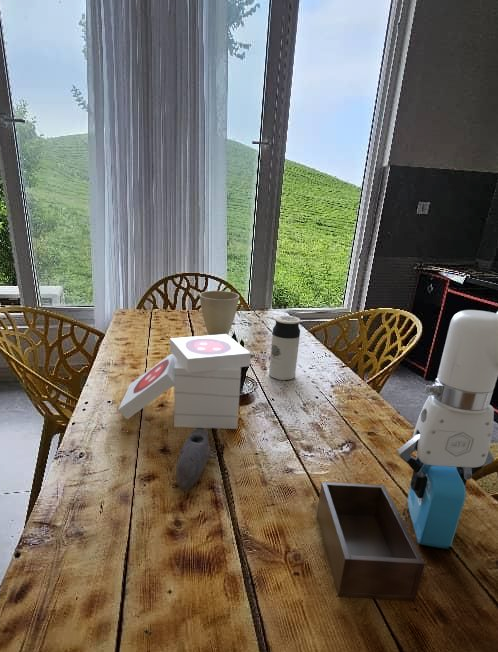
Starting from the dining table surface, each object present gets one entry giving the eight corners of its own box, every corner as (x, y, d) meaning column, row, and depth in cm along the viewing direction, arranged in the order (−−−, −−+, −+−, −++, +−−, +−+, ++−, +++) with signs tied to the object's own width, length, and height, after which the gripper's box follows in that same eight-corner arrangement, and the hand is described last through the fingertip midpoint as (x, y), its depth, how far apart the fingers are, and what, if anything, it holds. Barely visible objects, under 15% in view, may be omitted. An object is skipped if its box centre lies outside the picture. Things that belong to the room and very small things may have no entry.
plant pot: (197, 329, 178) (198, 290, 172) (233, 330, 179) (236, 290, 173) (199, 341, 164) (201, 299, 158) (239, 341, 166) (242, 299, 160)
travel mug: (287, 369, 141) (293, 314, 134) (299, 379, 134) (306, 321, 127) (264, 371, 138) (269, 315, 132) (275, 381, 131) (281, 323, 125)
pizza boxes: (131, 394, 119) (129, 330, 113) (243, 398, 120) (247, 334, 113) (116, 429, 102) (112, 355, 95) (247, 434, 102) (252, 361, 95)
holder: (377, 517, 77) (384, 485, 75) (414, 601, 61) (425, 563, 59) (316, 514, 77) (321, 481, 75) (338, 596, 62) (345, 559, 59)
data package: (406, 501, 81) (419, 445, 77) (432, 506, 81) (447, 449, 76) (418, 548, 71) (435, 486, 66) (449, 554, 70) (468, 491, 65)
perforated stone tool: (194, 501, 79) (194, 468, 77) (166, 496, 80) (165, 463, 78) (213, 457, 93) (215, 427, 90) (189, 453, 94) (190, 424, 91)
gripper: (413, 402, 63) (390, 506, 70) (535, 408, 63) (499, 511, 69) (395, 381, 70) (376, 477, 77) (505, 386, 70) (475, 482, 76)
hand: (435, 493), depth 73 cm, fingers closed on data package, 5 cm apart
